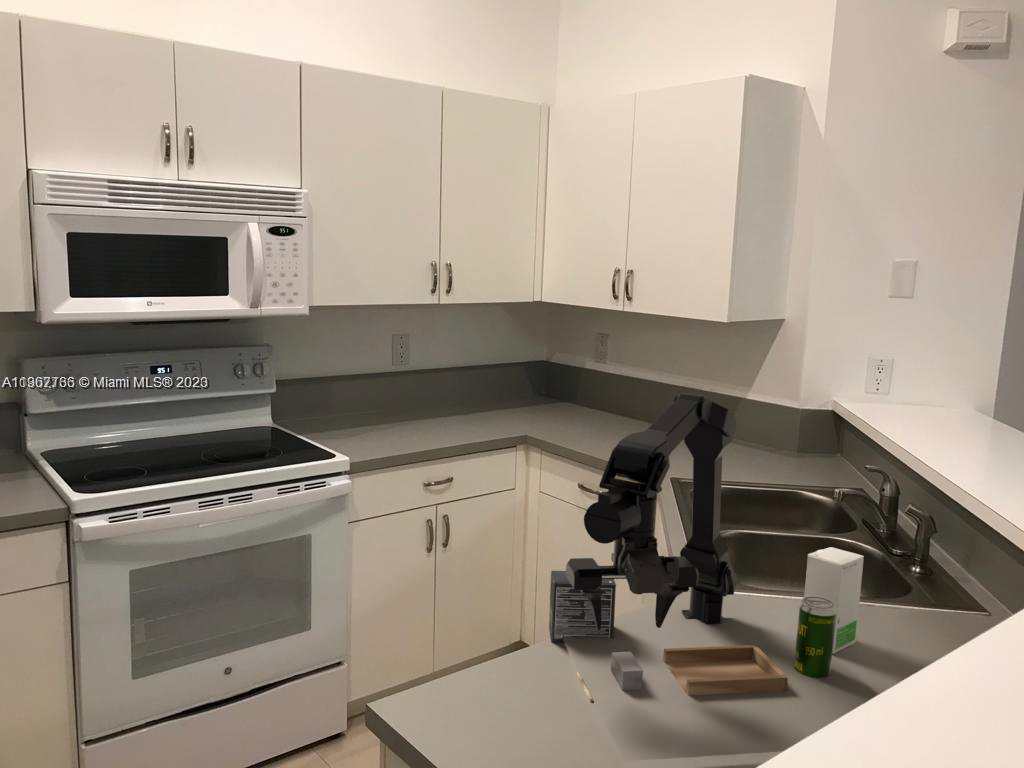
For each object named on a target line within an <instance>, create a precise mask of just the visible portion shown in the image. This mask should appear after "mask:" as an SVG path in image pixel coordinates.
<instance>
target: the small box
mask: <svg viewBox="0 0 1024 768" xmlns="http://www.w3.org/2000/svg"><path fill="white" fill-rule="evenodd" d="M599 587H600V588H601V590H602V591H603V594H602V597H601V617H602V622H601V629H600V630H598V629H597V628H596V625H595V621H594V618H593V614H592V611H591V608H590V604H589V601H588V598H587V596H586V594H583V593H581V591H580V590H577V589H574V588H573V586H572V585H571V583H570V581H569V580H568V578H567V577H566V570H551V571H550V590H549V591H550V592H549V593H550V595H549V613H548V614H549V617H548V618H549V619H548V631H549V637H550V642H551V643H564V644H565V641H564V639H563V638H575V639H578V638H579V639H614V629H615V610H616V608H615V607H616V593H617V591H616V588H617V583H616V581H615V579H602V584H601V585H600V586H599ZM561 636H562V637H561Z"/></svg>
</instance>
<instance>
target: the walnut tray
mask: <svg viewBox="0 0 1024 768" xmlns="http://www.w3.org/2000/svg"><path fill="white" fill-rule="evenodd" d="M662 662H663V663H664V665H665V666H666V667H667V669H668V670H669V671H670V672H671V674H672V675H673V677H674V678H675V680H676V681H677V682H678V683H679V685H680V686H681V688H682V689H683V690H684V692H685V693H686V694H687V696H699V695H700V696H703V695H719V694H720V695H723V694H742V693H745V694H746V693H760V692H761V693H762V692H763V693H764V692H766V693H767V692H783V691H784V692H786V691H788V690H787V688H788V681H789V679H788V676H787V675H786V674H785V673H784V671H782V670H781V669H780V668H779V667H778V666H777V665H776V664H775V663H774V662H773V661H772V660H771V659H770V658H769V657H768V656H767V655H766V654H765V653H764V652H763V651H762V649H760V647H758V646H757V645H756V644H751V645H750V644H749V645H722V646H720V645H719V646H702V647H701V646H700V647H696V646H695V647H676V648H675V647H674V648H671V647H670V648H663V657H662Z"/></svg>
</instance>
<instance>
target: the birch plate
mask: <svg viewBox="0 0 1024 768" xmlns="http://www.w3.org/2000/svg"><path fill="white" fill-rule="evenodd" d="M610 661H611V662H610V672H611V674H612V675H613V677H614V679H615V681H616V682H617V684H618V686H619V688H620V689H621V691H636V690H638V691H639V690H642V689H643V677H644V676H643V674H644V670H643V668H642V667H641V666H640V664H639V662H638V661H637V659H636V657H635V656H634V654H633V653H632V651H613V652H611V660H610ZM576 676H577V678H578V680H579V682H580V684H581V686H582V688H583V690H584V692H585V694H586V697H587V699H588V701H589V702H590V703H591V702H593V703H594V702H595V700H594V698H593V697H592V694H591V692H590V690H589V688H588V686H587V684H586V683H585V680H584V679H583V677H582V675H581V673H580V671H577V672H576Z"/></svg>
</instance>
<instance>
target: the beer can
mask: <svg viewBox="0 0 1024 768" xmlns="http://www.w3.org/2000/svg"><path fill="white" fill-rule="evenodd" d="M835 606H836V605H835V603H833V602H832V601H830V600H828V599H825V598H821V597H815V596H808V597H804V596H803V598H802V599H801V603H800V605H799V610H798V611H799V612H798V621H797V630H796V631H797V632H796V638H795V639H796V640H795V651H794V663H793V667H794V670H795V671H796V672H797V673H799V674H800V675H803V676H805V677H808V678H809V677H810V678H816V679H824V678H827V677H830V674H831V668H832V659H833V658H832V657H833V654H832V650H833V641H834V631H835V622H836V609H835Z"/></svg>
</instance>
